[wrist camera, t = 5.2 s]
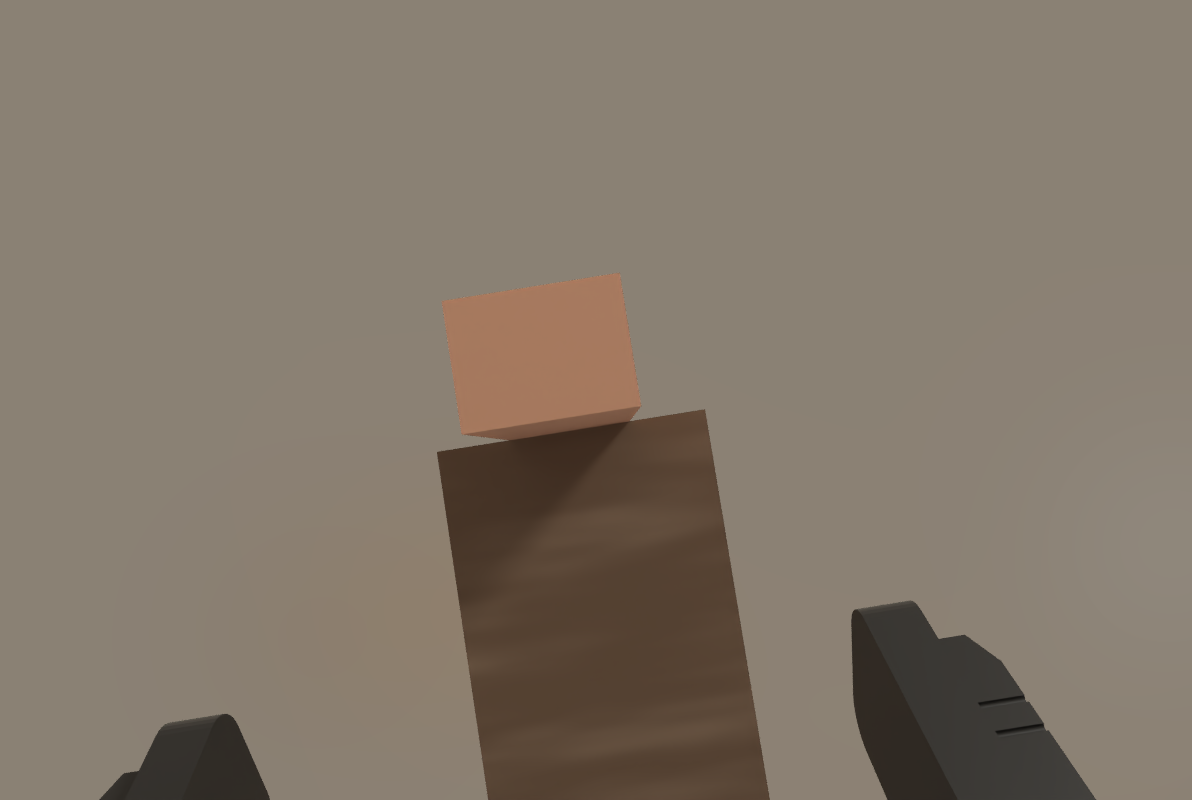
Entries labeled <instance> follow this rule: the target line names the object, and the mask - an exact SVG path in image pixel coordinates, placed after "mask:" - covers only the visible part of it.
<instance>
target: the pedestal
mask: <svg viewBox="0 0 1192 800" xmlns="http://www.w3.org/2000/svg"><path fill="white" fill-rule="evenodd" d="M437 455H438V462H439V469H440V476H441V483H442V489H443V496H444V503H445V510H446V516H447V523H448V530H449V537H450V544H451V550H452V557H453V564H454V570H455V577H456V584H457V590H458V597H459V605H460V610H461V618H462V625H463V631H464V638H465V645H466V652H467V659H468V665H469V672H470V678H471V686H472V692H473V699H474V706H475V713H476V719H477V726H478V733H479V740H480V747H481V753H482V760H483V767H484V774H485V781H486V787H487V794H488V800H770V798H769V792H768V787H767V780H766V774H765V769H764V763H763V756H762V750H761V745H760V739H759V733H758V726H757V720H756V714H755V708H754V702H753V696H752V690H751V684H750V678H749V672H748V666H747V660H746V654H745V648H744V642H743V636H742V630H741V624H740V618H739V612H738V606H737V600H736V594H735V588H734V582H733V576H732V570H731V563H730V557H729V552H728V545H727V540H726V533H725V527H724V522H723V515H722V509H721V503H720V497H719V491H718V486H717V479H716V473H715V467H714V461H713V455H712V449H711V443H710V437H709V432H708V425H707V419H706V413H705V410H698V411H692V412H686V413H679V414H673V415H667V416H660V417H654V418H648V419H642V420H635V421H629V422H623V423H616V424H610V425H604V426H597V427H591V428H585V429H579V430H572V431H566V432H560V433H553V434H547V435H541V436H535V437H528V438H522V439H516V440H509V441H504V442H497V443H491V444H484V445H478V446H472V447H466V448H459V449H453V450H446V451H441V452H437Z"/></svg>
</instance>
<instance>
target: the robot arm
mask: <svg viewBox="0 0 1192 800" xmlns="http://www.w3.org/2000/svg"><path fill="white" fill-rule="evenodd" d="M851 623H852V624H851V627H852V663H853V696H854V707H855V713H856V718H857V723H858V727H859V730H860V734H861V737H862V740H863V743H864V746H865V748H866V751H867V753H868V756H869V758H870V760H871V763H872V765H873V767H874V769H875V772H876V774H877V776H878V779H879V781H880V783H881V786H882V788H883V790H884V792H885V795H886V797H887V800H1096V799H1095V798H1094V796H1093V795H1092V793H1091V792H1090V790H1089V789H1088V787H1087V786H1086V784H1085V783H1084V782H1083V780H1082V778H1081V777H1080V775H1079V774H1078V773H1077V771H1076V770H1075V768H1074V767H1073V765H1072V764H1071V763H1070V761H1069V760H1068V758H1067V757H1066V755H1065V754H1064V752H1063V751H1062V749H1061V748H1060V746H1059V745H1058V743H1057V742H1056V740H1055V739H1054V738H1053V736H1052V735H1051V733H1050V732H1049V731H1046V730H1045V728H1044V723H1043V722H1042V720H1041V719H1040V717H1039V716H1038V714H1037V713H1036V711H1035V710H1034V708H1033V707H1032V706H1031V704H1030V702H1026V700H1025V697H1024V694H1023V692H1022V691H1021V690H1020V688H1019V686H1018V685H1017V684H1016V682H1015V681H1014V679H1013V678H1012V676H1011V675H1010V673H1009V672H1008V671H1007V669H1006V668H1005V666H1004V665H1003V663H1002V662H1001V661H1000V660H999V659H997V658H996V657H995V656H993V655H992V654H991V653H989V652H988V651H986V650H985V649H984V648H982V647H981V646H980V645H978V644H977V643H975V642H974V641H973V640H971V639H970V638H968V637H967V636H966V635H961V636H955V637H949V638H942V639H938V638H937V636H936V634H935V632H934V631H933V629H932V627H931V626H930V624H929V623H928V621H927V619H926V618H925V616H924V615H923V613H922V611H921V610H920V608H919V607H918V606H917V604H916V603H914V602H913V601H905V602H899V603H893V604H887V605H880V606H874V607H868V608H862V609H856V610H854V611H853V613H852V620H851ZM100 800H270V798H269V795H268V793H267V790H266V788H265V786H264V783H263V781H262V779H261V777H260V774H259V772H258V770H257V768H256V765H255V763H254V761H253V759H252V756H251V754H250V752H249V749H248V747H247V745H246V743H245V740H244V738H243V736H242V733H241V731H240V729H239V727H238V725H237V723H236V721H235V720H234V718H233V717H232V716H230V715H228V714H222V715H215V716H209V717H203V718H196V719H190V720H184V721H178V722H172V723H168V724H165V725H164V726H163V727H162V728H161V729H160V730H159V732H158V734H157V735H156V737H155V739H154V741H153V743H152V745H151V747H150V749H149V751H148V754H147V755H146V757H145V759H144V762H143V764H142V766H141V768H140V770H139V771H137V772H130V773H124V774H123V775H122V776H121V777H120V778H119V779H118V780H117V781H116V782H115V783H114V785H113V786H112V787H111V788H110V789H109V790H108V791H107V792H106V793H105V794H104V795H103V796H102V798H101V799H100Z"/></svg>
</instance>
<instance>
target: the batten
mask: <svg viewBox="0 0 1192 800" xmlns="http://www.w3.org/2000/svg"><path fill="white" fill-rule="evenodd" d="M442 306H443V312H444V319H445V326H446V332H447V338H448V345H449V352H450V359H451V365H452V372H453V378H454V385H455V392H456V399H457V406H458V413H459V419H460V425H461V432H462V434H463V435H470V436H479V437H488V438H495V439H503V440H516V439H522V438H528V437H535V436H541V435H547V434H553V433H560V432H566V431H572V430H579V429H585V428H591V427H597V426H604V425H610V424H616V423H623V422H629V421H630V420H631V419H632V417H633V416H634V415H635V413H636V412H637V411H638V409H639V408H640V407H641V402H640V396H639V390H638V383H637V377H636V371H635V365H634V359H633V353H632V346H631V340H630V334H629V328H628V321H627V315H626V309H625V303H624V297H623V290H622V284H621V278H620V273H615V274H609V275H602V276H596V277H590V278H584V279H577V280H571V281H565V282H559V283H553V284H546V285H539V286H533V287H528V288H521V289H514V290H508V291H502V292H496V293H489V294H483V295H477V296H471V297H465V298H458V299H452V300H446V301H442Z"/></svg>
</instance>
